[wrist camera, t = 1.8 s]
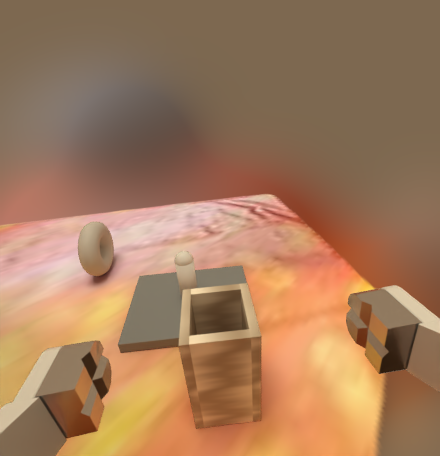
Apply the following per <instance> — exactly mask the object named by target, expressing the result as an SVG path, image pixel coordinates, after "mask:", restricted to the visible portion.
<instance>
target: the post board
mask: <svg viewBox="0 0 440 456" xmlns="http://www.w3.org/2000/svg"><path fill="white" fill-rule="evenodd" d="M175 266H176V272H175V273H165V274H155V275H146V276H140V277H139V280H138V283H137V286H136V289H135V292H134V296H133V299H132V302H131V305H130V308H129V311H128V314H127V318H126V321H125V324H124V327H123V330H122V333H121V337H120V340H119V343H118V346H119V349H120V352H121V353H122V352H131V351H139V350H148V349H157V348H166V347H175V346H179V333H180V320H181V307H182V293H183V290H186V289H195V288H205V287H214V286H224V285H233V284H243V283H247V282H246V278H245V275H244V271H243V267H242V266H233V267H223V268H214V269H204V270H195V267H194V260H193V256H192V255H191V254H190V253H189V252H187V251H182V252H179V253H178V254H177V255H176V257H175Z"/></svg>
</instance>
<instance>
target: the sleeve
mask: <svg viewBox="0 0 440 456" xmlns="http://www.w3.org/2000/svg"><path fill="white" fill-rule="evenodd" d="M179 350H180V355H181V359H182V364H183V369H184V374H185V378H186V383H187V388H188V393H189V397H190V402H191V407H192V411H193V416H194V421H195V426H196V429H197V428H205V427H213V426H221V425H229V424H237V423H245V422H253V421H261V333H260V329H259V325H258V322H257V318H256V314H255V310H254V306H253V303H252V299H251V295H250V291H249V287H248V284H247V283H243V284H233V285H224V286H214V287H205V288H195V289H186V290H183V293H182V307H181V320H180V333H179Z"/></svg>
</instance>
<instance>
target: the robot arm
mask: <svg viewBox="0 0 440 456" xmlns="http://www.w3.org/2000/svg"><path fill="white" fill-rule="evenodd" d="M348 305H349V306H350V307H351V309H350V311H349V312H348V313H347V317H346V323H347V327H348V331H349V333H350V335H351V337H352V338H353V340H354V341H355V342H356V343H357V344H358V345H360V346H362V347H364V348H365V356H366V357H367V359H368V360H369V361H370V363H371V364H372V365H373V367H374V368H375V369H376V371H377V372H378V373H379V374H381V373H387V372H392V371H399V370H405V369H407V371H408V372H409V373H411V374H412V375H414V376H415V377H417V378H418V379H420V380H421V381H423V382H424V383H426V384H428V385H429V386H431V387H432V388H434V389H435V390H437V391H438V392H440V319H439V318H438V317H437V316H435V315H434V314H433V313H432V312H430V311H429V310H428V309H427V308H425V307H424V306H423V305H422V304H420V303H419V302H418V301H417V300H415V299H414V298H413V297H412V296H410V295H409V294H408V293H407V292H406V291H404V290H403V289H402V288H401V287H398V286H395V285H394V286H389V287H384V288H380V289H374V290H369V291H364V292H359V293H353V294H350V296H349V298H348ZM102 352H103V347H102V344H101V342H100V341H90V342H84V343H77V344H71V345H65V346H61V347H54V348H48V349H46V350H45V351H44V352H42V354H41V356H40V357H39V359H38V361H37V362H36V364H35V366H34V367H33V369H32V371H31V372H30V374H29V376H28V377H27V379H26V381H25V382H24V384H23V386H22V387H21V389H20V391H19V392H18V394H17V396H16V397H15V399H14V401H13V402H11V403H7V404H5V405H4V406H3V407H2V408H1V409H0V456H55V455H56V454H57V453H58V451H59V450H60V449H61V447H62V446H63V444H64V443H65V442H66V438H70V437H74V436H79V435H83V434H87V433H91V432H96V431H98V428H99V424H100V420H101V417H102V413H103V410H104V405H103V403H102V398H103V397H104V396H105V395H106V394H107V393H108V391H109V388H110V384H111V366H110V363H109V360H108V359H107V358H106V357H104V356H102Z"/></svg>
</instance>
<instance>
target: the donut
mask: <svg viewBox="0 0 440 456" xmlns="http://www.w3.org/2000/svg"><path fill="white" fill-rule="evenodd" d="M78 255H79V259H80V263H81V265H82V267H83V269H84V270H85V271H86V272H87V273H88V274H90V275H93V276H101V275H103V274H105V273H106V272H107V271H108V270H109V268H110V267H111V264H112V261H113V255H114V247H113V240H112V236H111V234H110V231H109V230H108V228H107V227H106V226H105V225H104V224H102V223H100V222H90V223H89V224H87V225H86V226H84V228H83V229H82V231H81V233H80V236H79V240H78Z"/></svg>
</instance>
